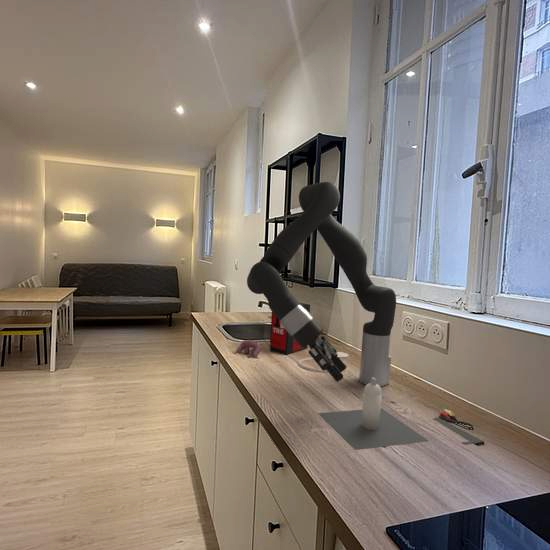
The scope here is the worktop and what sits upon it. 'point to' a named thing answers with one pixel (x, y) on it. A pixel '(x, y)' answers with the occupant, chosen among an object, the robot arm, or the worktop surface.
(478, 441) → the smartphone
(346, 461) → the worktop surface
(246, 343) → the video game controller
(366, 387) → the white pump bottle
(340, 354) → the hand towel holder
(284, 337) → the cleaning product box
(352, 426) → the mat
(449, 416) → the composite cable
